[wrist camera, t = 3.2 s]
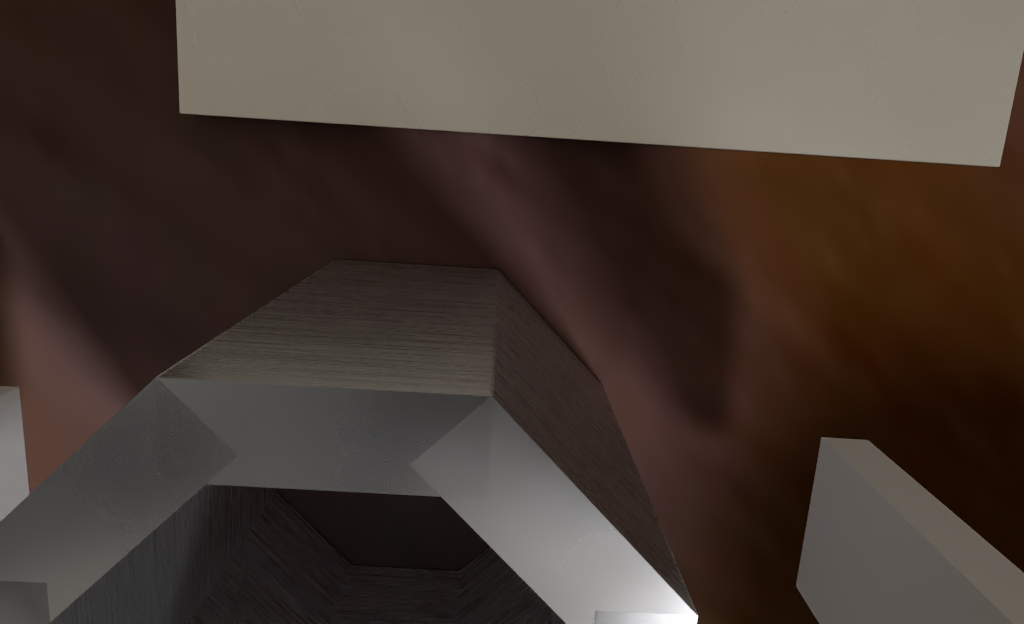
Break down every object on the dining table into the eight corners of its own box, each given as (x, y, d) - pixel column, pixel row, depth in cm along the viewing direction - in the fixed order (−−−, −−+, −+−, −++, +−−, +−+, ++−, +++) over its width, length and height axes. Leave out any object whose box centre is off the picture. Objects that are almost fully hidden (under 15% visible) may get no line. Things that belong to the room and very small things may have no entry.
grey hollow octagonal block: (227, 603, 15) (-11, 994, 8) (218, 252, 13) (-87, 363, 6) (580, 621, 15) (644, 1018, 8) (613, 276, 13) (726, 409, 7)
